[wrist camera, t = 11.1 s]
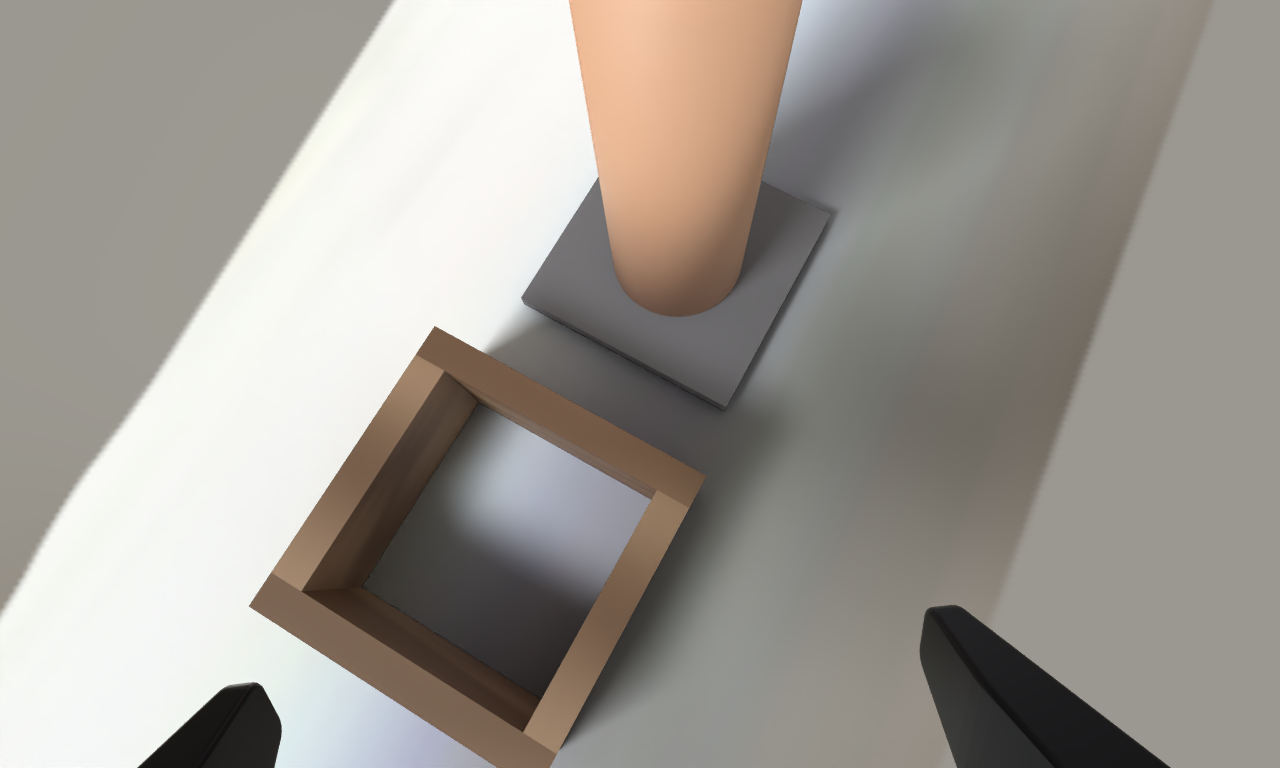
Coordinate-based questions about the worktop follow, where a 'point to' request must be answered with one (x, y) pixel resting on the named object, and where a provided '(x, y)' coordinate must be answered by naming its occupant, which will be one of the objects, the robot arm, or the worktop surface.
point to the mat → (690, 345)
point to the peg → (681, 135)
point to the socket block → (380, 501)
